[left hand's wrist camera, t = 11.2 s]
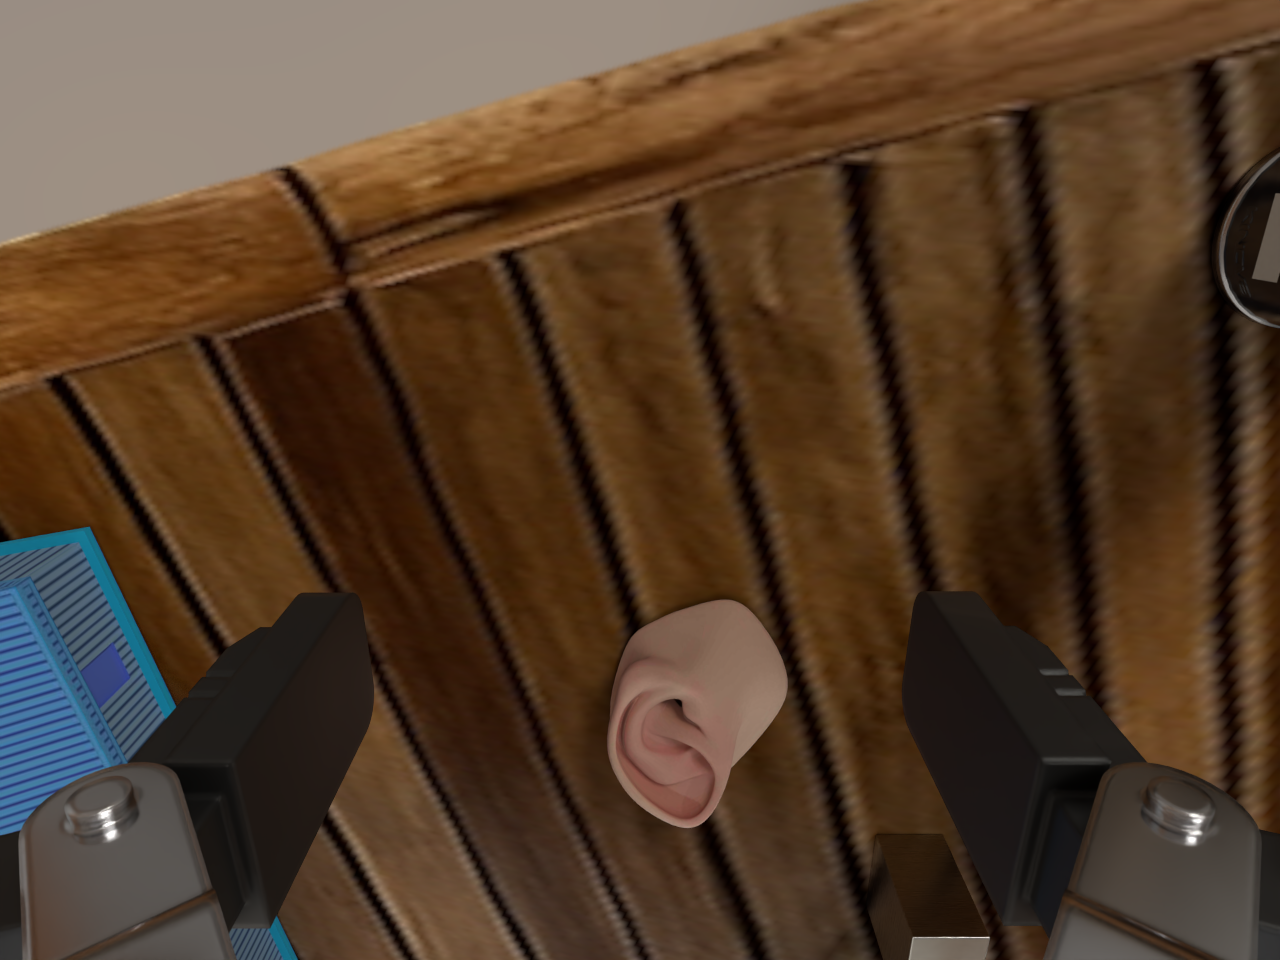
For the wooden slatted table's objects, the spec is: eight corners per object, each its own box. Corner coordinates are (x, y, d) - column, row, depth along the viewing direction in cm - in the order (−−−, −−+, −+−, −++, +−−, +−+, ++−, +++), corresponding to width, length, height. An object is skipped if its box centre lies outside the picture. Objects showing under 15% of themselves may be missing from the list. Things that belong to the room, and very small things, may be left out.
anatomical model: (709, 603, 43) (850, 723, 46) (703, 569, 46) (834, 682, 49) (547, 748, 46) (687, 851, 49) (554, 705, 50) (684, 803, 53)
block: (865, 904, 56) (899, 1013, 49) (875, 833, 54) (912, 937, 47) (930, 904, 56) (973, 1013, 49) (943, 834, 54) (990, 937, 47)
